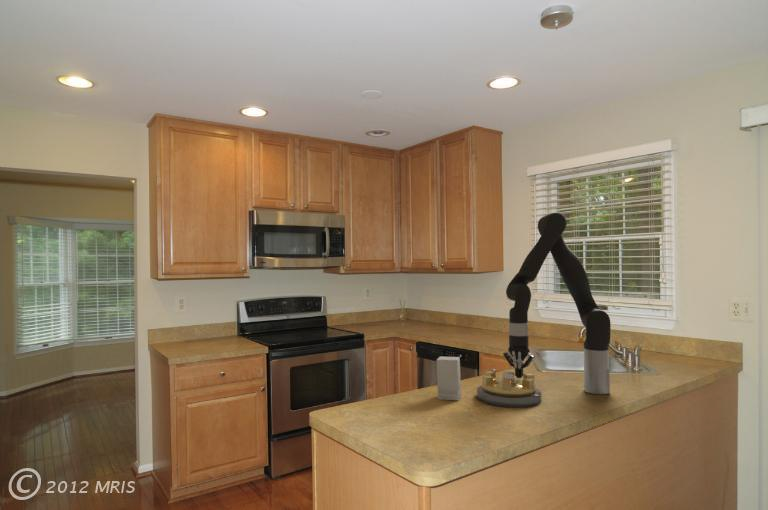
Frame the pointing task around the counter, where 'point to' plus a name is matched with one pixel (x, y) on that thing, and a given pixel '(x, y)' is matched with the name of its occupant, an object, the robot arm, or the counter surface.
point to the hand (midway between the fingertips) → (519, 377)
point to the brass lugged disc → (508, 384)
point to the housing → (509, 399)
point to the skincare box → (448, 378)
